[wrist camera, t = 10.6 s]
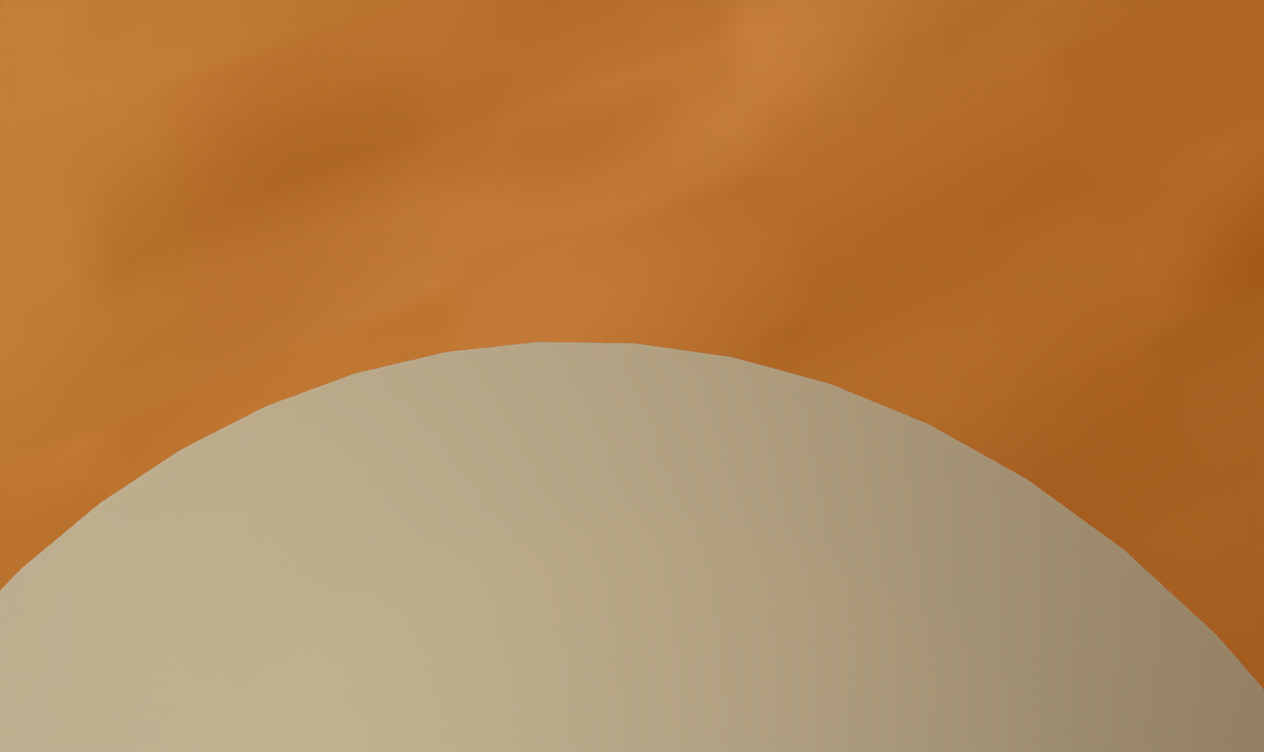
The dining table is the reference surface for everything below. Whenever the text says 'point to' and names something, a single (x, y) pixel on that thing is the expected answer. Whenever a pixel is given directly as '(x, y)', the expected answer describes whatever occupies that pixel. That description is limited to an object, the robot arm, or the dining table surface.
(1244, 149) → the dining table surface
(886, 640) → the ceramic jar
